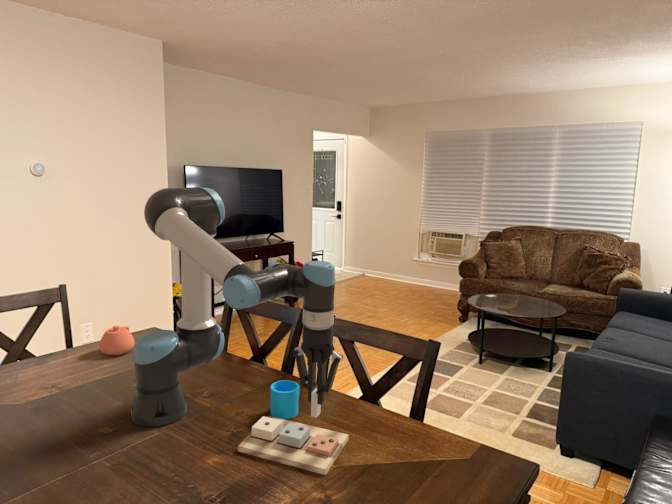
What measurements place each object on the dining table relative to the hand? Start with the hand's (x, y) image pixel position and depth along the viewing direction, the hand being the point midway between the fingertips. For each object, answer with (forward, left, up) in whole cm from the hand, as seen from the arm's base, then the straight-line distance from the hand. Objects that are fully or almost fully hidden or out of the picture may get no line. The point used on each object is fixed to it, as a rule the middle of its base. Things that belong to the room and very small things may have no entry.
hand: (315, 414), depth 118 cm
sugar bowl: (-96, +30, -10) cm, 101 cm away
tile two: (-6, 0, -8) cm, 10 cm away
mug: (-16, +16, -10) cm, 25 cm away
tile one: (-14, 0, -8) cm, 16 cm away
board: (-6, 0, -10) cm, 11 cm away
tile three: (+2, 0, -10) cm, 10 cm away
